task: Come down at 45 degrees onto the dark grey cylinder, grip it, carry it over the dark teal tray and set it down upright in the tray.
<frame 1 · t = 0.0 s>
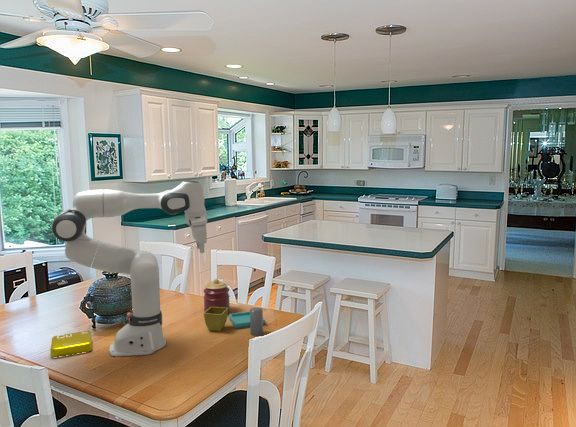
hand: (200, 250, 191), 39 cm above the table, tool pointing down, fingers open, 8 cm apart
canister: (217, 312, 228), on the table
flower pot: (216, 329, 206), on the table
tray: (246, 322, 214), on the table
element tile: (72, 349, 187), on the table
dark grey cylinder: (256, 333, 200), on the table
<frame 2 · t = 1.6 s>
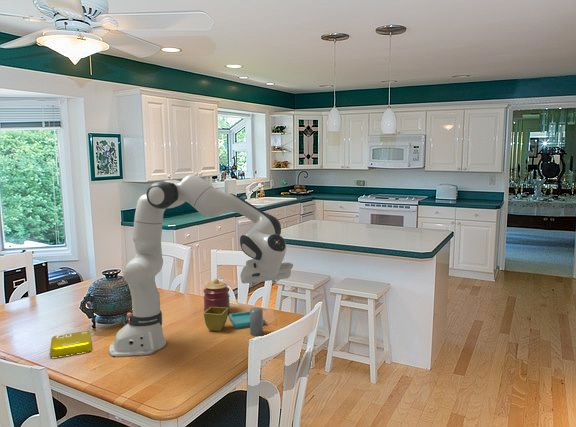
hand: (263, 283, 186), 26 cm above the table, tool tilted 45°, fingers open, 8 cm apart
nothing on the table moved.
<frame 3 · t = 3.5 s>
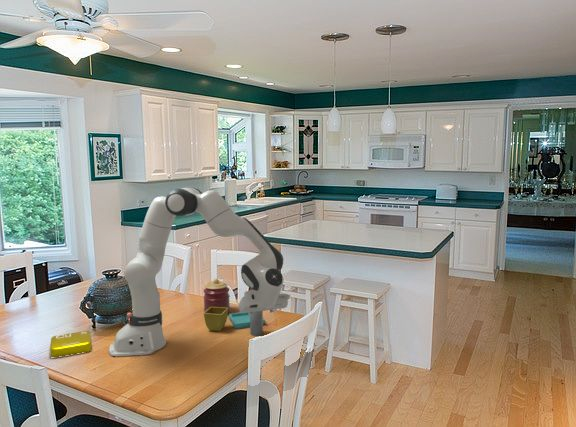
hand: (260, 312, 191), 12 cm above the table, tool tilted 45°, fingers open, 8 cm apart
nothing on the table moved.
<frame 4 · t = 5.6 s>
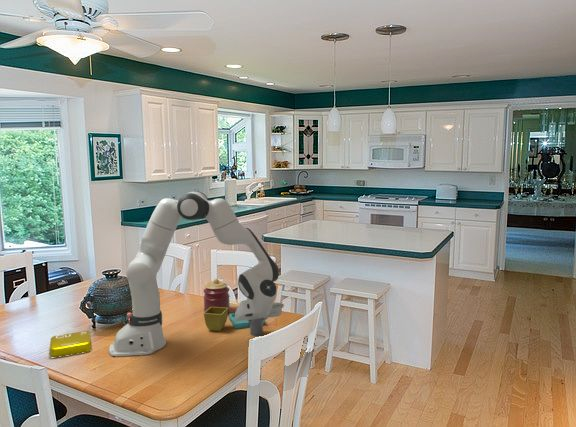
hand: (256, 320, 200), 6 cm above the table, tool tilted 45°, fingers closed on dark grey cylinder, 6 cm apart
dark grey cylinder: (256, 333, 200), on the table, touching gripper
everything else where it was.
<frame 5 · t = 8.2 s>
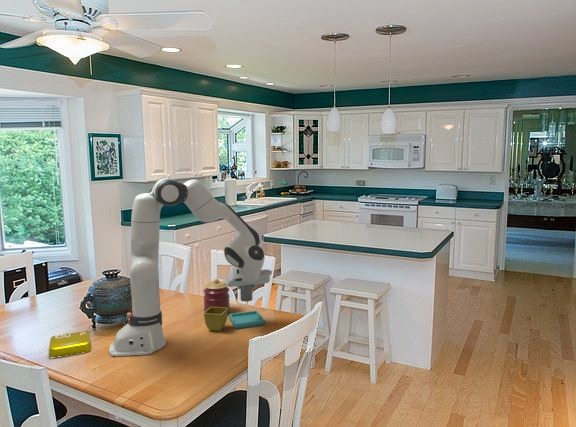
hand: (246, 287, 212), 17 cm above the table, tool tilted 45°, fingers closed on dark grey cylinder, 6 cm apart
dark grey cylinder: (246, 299, 212), point 11 cm above the table, touching gripper
everything else where it was.
when the fingers open (8 cm above the table, at t = 10.9 s): dark grey cylinder drops 1 cm, resting on tray.
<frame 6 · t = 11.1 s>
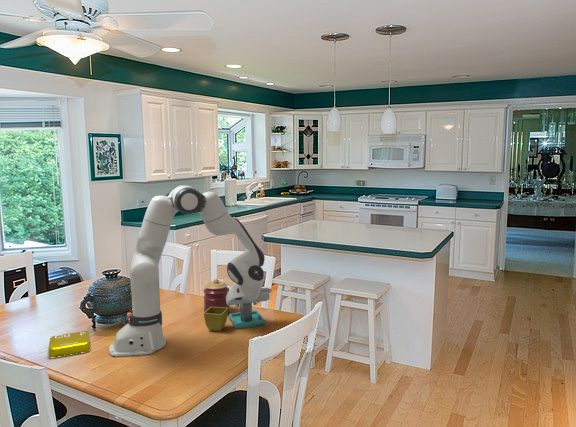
hand: (245, 304, 214), 8 cm above the table, tool tilted 45°, fingers open, 7 cm apart
dark grey cylinder: (246, 319, 214), point 1 cm above the table, touching tray
everything else where it was.
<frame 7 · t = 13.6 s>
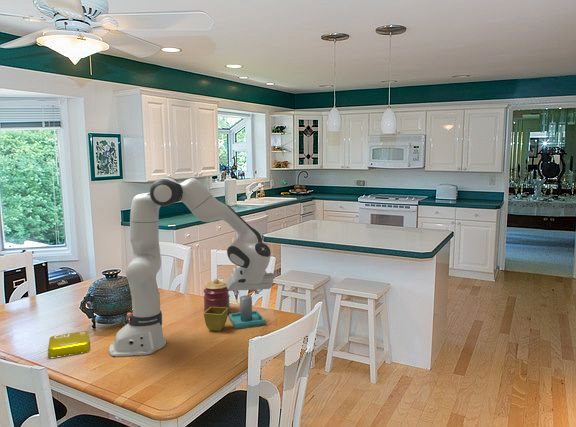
hand: (246, 293, 202), 17 cm above the table, tool tilted 35°, fingers open, 8 cm apart
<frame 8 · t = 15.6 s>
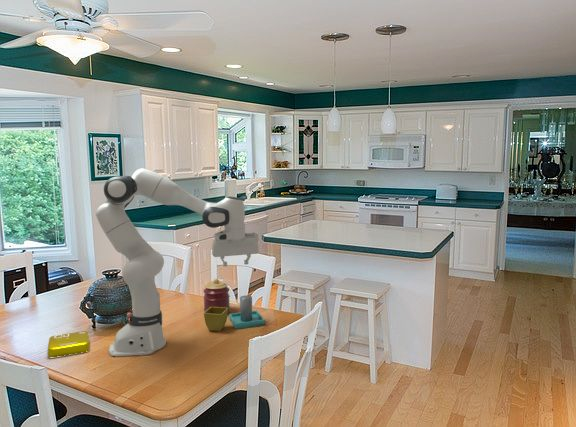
hand: (235, 265, 197), 31 cm above the table, tool pointing down, fingers open, 8 cm apart
at the end: dark grey cylinder inside the target area on the tray (0.0 cm from its centre), point 1.2 cm above the tray's base; dark grey cylinder tilted 1°; the gripper is holding nothing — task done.
